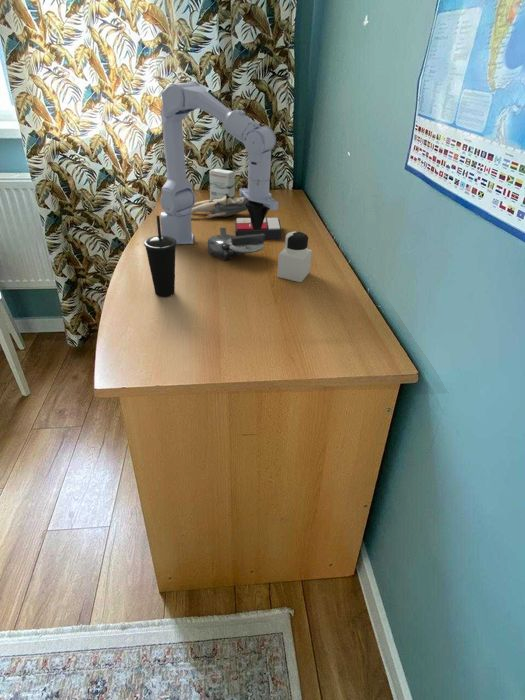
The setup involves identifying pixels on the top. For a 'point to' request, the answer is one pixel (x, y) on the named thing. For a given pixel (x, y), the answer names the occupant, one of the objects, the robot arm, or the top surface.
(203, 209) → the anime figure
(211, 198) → the ink box
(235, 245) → the lid
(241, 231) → the calculator
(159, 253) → the drinking cup
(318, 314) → the top surface
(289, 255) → the medicine bottle
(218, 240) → the pot
